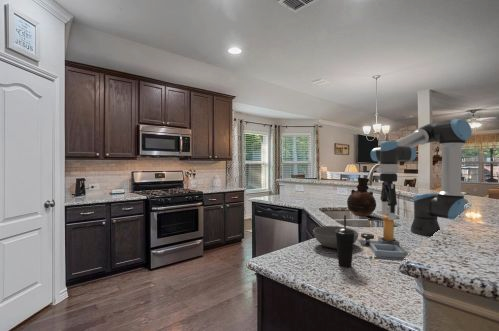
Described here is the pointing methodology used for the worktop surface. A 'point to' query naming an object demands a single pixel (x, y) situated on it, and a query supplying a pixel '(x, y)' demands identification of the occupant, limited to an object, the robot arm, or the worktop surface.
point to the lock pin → (388, 229)
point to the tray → (396, 253)
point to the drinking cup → (345, 245)
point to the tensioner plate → (380, 241)
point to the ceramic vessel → (361, 199)
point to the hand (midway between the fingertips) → (388, 217)
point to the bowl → (329, 235)
